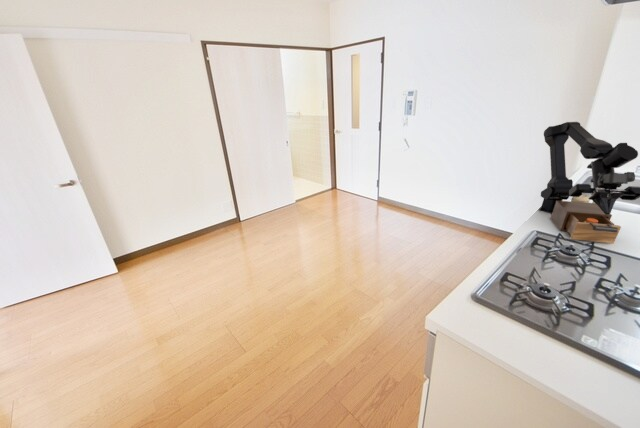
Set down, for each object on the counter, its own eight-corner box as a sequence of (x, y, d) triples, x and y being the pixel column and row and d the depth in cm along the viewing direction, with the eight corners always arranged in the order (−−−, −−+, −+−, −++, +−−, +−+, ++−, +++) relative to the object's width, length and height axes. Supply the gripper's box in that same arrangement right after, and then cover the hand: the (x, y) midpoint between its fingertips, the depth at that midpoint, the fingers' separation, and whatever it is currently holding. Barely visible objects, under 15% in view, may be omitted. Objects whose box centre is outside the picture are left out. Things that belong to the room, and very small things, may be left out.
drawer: (621, 250, 97) (631, 229, 93) (576, 245, 101) (584, 225, 97) (599, 230, 110) (607, 211, 106) (560, 226, 114) (567, 208, 110)
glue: (581, 229, 109) (586, 216, 106) (595, 232, 106) (600, 219, 104) (579, 232, 107) (584, 219, 104) (593, 236, 104) (598, 223, 101)
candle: (568, 218, 122) (576, 196, 117) (564, 212, 126) (571, 192, 122) (584, 219, 120) (593, 198, 115) (579, 214, 124) (587, 193, 120)
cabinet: (603, 235, 108) (612, 215, 104) (560, 230, 112) (567, 211, 109) (589, 222, 117) (596, 203, 114) (550, 218, 122) (556, 200, 118)
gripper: (583, 161, 97) (587, 202, 92) (655, 163, 90) (663, 207, 86) (567, 176, 106) (569, 214, 102) (631, 179, 100) (636, 220, 95)
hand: (607, 214), depth 96 cm, fingers closed
